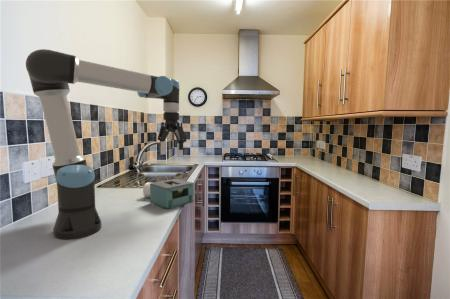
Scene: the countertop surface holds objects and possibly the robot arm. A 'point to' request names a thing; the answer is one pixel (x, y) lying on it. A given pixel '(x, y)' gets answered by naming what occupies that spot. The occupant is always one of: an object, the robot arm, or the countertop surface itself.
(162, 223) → the countertop surface
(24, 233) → the countertop surface
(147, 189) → the mug
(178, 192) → the gold block
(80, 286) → the countertop surface
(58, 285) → the countertop surface
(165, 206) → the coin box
